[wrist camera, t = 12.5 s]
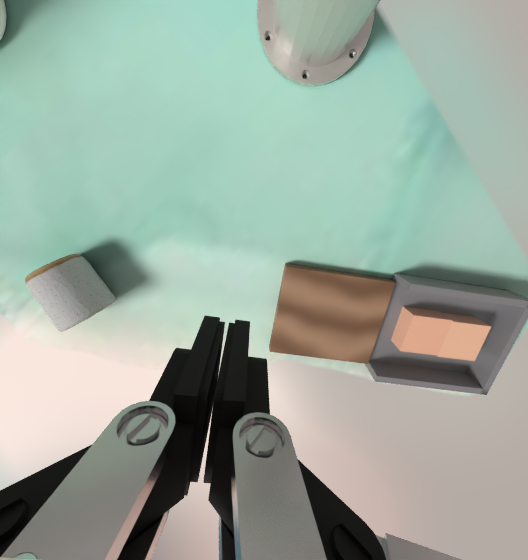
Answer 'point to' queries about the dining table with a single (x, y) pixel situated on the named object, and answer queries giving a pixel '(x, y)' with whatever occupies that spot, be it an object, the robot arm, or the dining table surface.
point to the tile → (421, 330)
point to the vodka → (2, 18)
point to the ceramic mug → (69, 291)
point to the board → (329, 313)
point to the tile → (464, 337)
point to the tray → (454, 300)
